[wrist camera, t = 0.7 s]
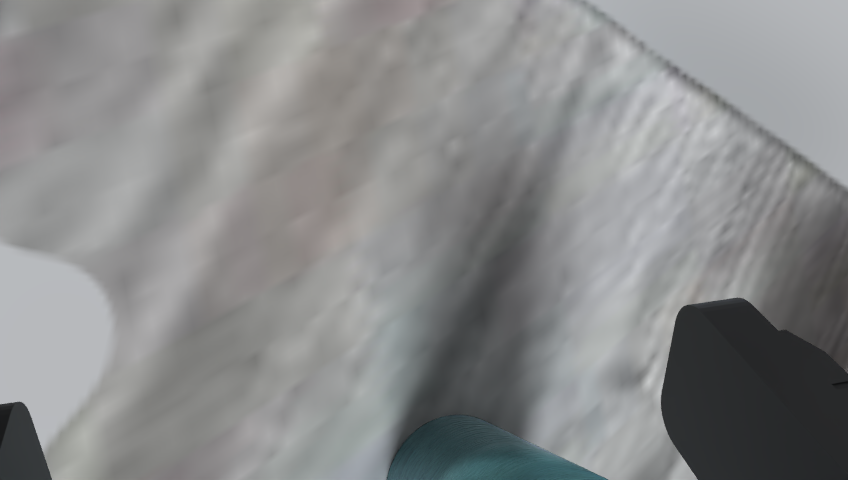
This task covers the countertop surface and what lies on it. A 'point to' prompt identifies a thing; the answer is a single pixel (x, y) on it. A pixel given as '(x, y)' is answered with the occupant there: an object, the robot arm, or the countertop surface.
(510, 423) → the countertop surface
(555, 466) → the tea tin
